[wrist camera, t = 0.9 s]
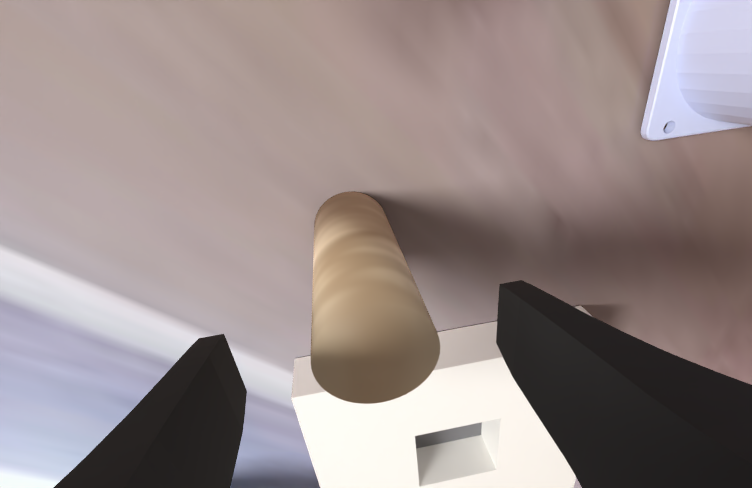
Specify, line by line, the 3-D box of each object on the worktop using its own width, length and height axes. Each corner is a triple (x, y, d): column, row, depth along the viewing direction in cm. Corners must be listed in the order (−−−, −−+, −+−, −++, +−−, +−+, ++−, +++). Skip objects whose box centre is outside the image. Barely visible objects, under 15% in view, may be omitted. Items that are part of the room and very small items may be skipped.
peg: (383, 186, 15) (438, 293, 8) (389, 251, 17) (441, 390, 10) (308, 197, 15) (297, 318, 8) (321, 263, 16) (323, 414, 9)
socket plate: (580, 305, 20) (613, 335, 18) (550, 456, 26) (571, 492, 24) (294, 358, 19) (291, 398, 16) (337, 502, 25) (338, 545, 23)
